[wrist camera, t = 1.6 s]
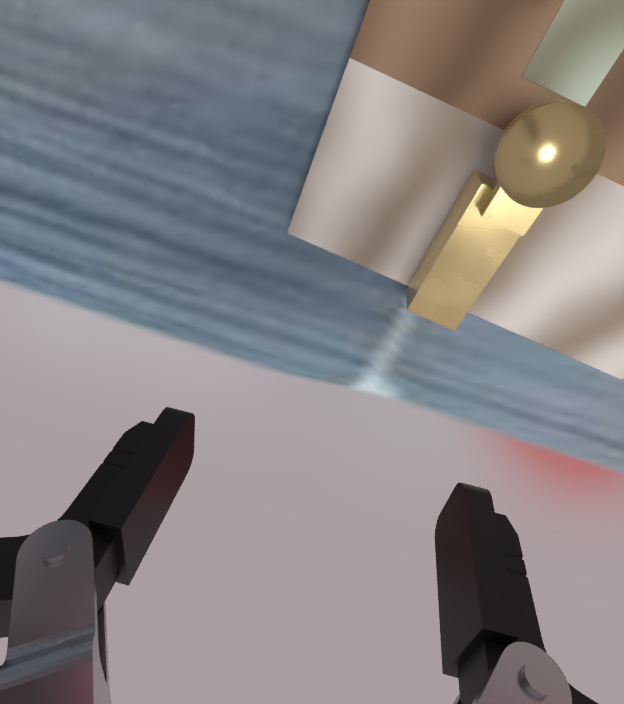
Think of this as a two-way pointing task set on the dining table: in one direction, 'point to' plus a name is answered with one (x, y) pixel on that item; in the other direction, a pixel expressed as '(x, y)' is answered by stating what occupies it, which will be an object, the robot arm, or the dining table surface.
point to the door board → (478, 156)
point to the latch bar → (506, 204)
